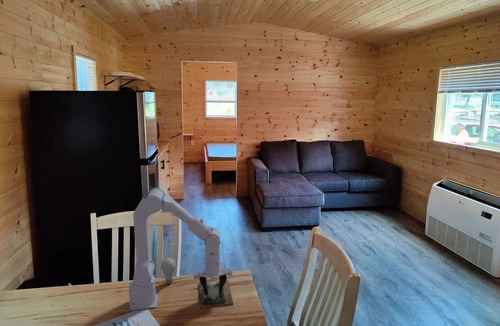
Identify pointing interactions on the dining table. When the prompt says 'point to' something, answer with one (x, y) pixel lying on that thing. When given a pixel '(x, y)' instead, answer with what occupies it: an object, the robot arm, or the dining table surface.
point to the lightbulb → (168, 269)
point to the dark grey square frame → (213, 300)
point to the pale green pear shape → (213, 291)
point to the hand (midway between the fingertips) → (213, 293)
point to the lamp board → (227, 297)
